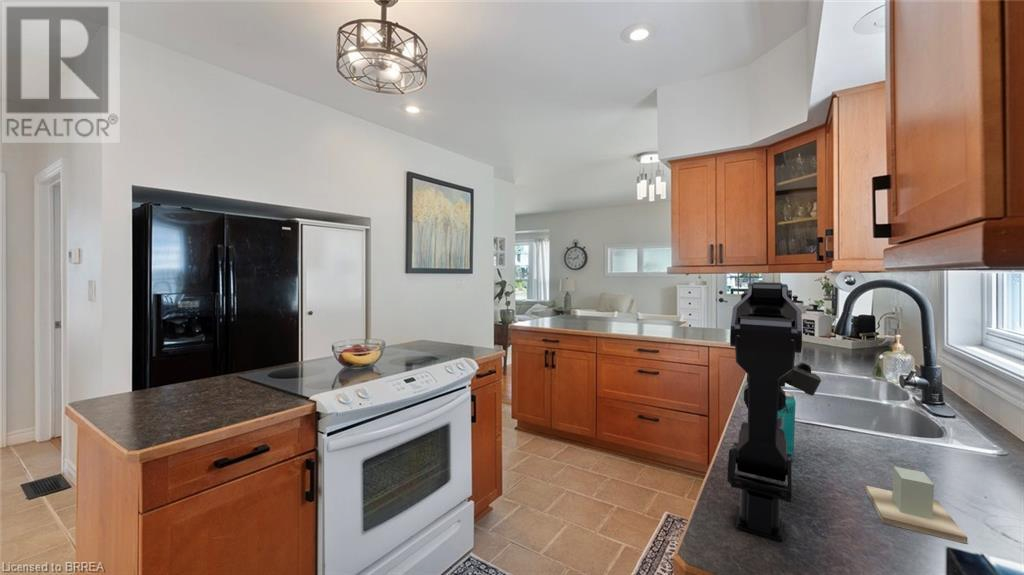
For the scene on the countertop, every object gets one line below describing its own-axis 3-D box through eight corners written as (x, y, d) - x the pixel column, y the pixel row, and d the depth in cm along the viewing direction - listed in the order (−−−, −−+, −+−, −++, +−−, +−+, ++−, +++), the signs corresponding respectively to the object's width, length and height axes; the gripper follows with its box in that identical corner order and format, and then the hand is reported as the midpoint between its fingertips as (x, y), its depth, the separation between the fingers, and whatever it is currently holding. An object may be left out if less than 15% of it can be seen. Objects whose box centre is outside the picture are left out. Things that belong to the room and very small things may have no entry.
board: (967, 543, 64) (967, 537, 64) (882, 522, 69) (882, 517, 69) (937, 506, 74) (938, 501, 74) (865, 490, 79) (866, 485, 79)
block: (932, 519, 68) (934, 484, 68) (900, 512, 70) (901, 478, 70) (922, 505, 72) (923, 472, 72) (892, 498, 74) (893, 466, 74)
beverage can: (757, 454, 95) (759, 390, 94) (774, 450, 97) (776, 388, 96) (782, 465, 89) (785, 397, 89) (799, 460, 92) (801, 394, 91)
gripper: (824, 363, 65) (820, 458, 66) (813, 346, 81) (810, 423, 82) (745, 355, 71) (742, 442, 72) (748, 340, 87) (746, 412, 88)
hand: (762, 429), depth 78 cm, fingers open, 9 cm apart
